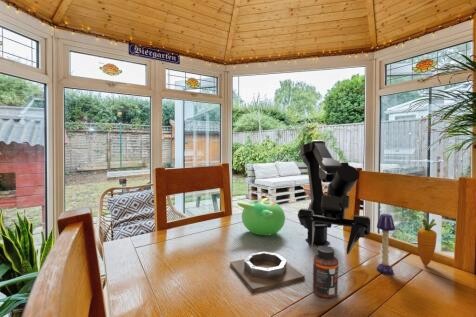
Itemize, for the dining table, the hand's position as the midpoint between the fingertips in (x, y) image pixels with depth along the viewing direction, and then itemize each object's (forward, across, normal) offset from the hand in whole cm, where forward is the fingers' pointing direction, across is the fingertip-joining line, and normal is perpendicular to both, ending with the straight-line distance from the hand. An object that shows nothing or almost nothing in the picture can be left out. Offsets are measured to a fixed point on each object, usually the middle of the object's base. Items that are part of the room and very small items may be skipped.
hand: (328, 250), depth 69 cm
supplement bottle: (+9, 0, +5) cm, 11 cm away
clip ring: (+8, -18, +6) cm, 20 cm away
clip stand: (+8, -18, +6) cm, 20 cm away
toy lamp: (-5, +13, +19) cm, 24 cm away
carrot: (-12, +24, +26) cm, 37 cm away
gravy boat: (-12, -31, +27) cm, 43 cm away
